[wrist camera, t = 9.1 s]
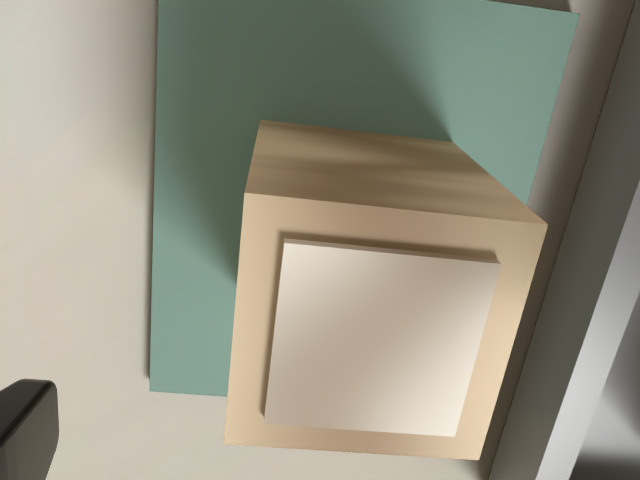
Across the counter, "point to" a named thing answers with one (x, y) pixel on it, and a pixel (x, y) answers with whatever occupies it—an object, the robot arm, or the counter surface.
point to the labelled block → (374, 294)
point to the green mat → (320, 110)
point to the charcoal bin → (589, 315)
